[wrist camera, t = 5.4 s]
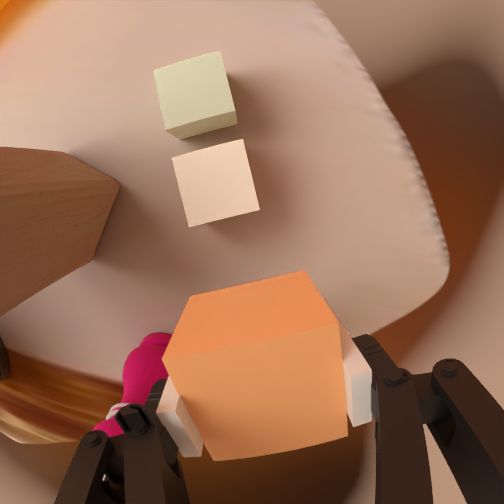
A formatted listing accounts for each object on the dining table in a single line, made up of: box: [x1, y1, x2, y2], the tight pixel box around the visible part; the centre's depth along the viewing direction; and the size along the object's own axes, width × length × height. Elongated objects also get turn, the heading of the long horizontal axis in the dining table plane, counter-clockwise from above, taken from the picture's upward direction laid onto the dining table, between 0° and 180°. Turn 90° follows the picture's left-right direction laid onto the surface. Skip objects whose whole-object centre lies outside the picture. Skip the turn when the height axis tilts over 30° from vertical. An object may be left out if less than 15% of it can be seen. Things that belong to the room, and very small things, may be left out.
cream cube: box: [172, 139, 260, 227], centre depth 26 cm, size 6×6×6 cm
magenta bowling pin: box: [92, 333, 172, 481], centre depth 24 cm, size 7×7×20 cm
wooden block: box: [0, 147, 120, 316], centre depth 20 cm, size 10×10×20 cm
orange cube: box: [162, 270, 348, 461], centre depth 13 cm, size 6×6×6 cm
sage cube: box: [153, 51, 238, 140], centre depth 24 cm, size 6×6×6 cm
